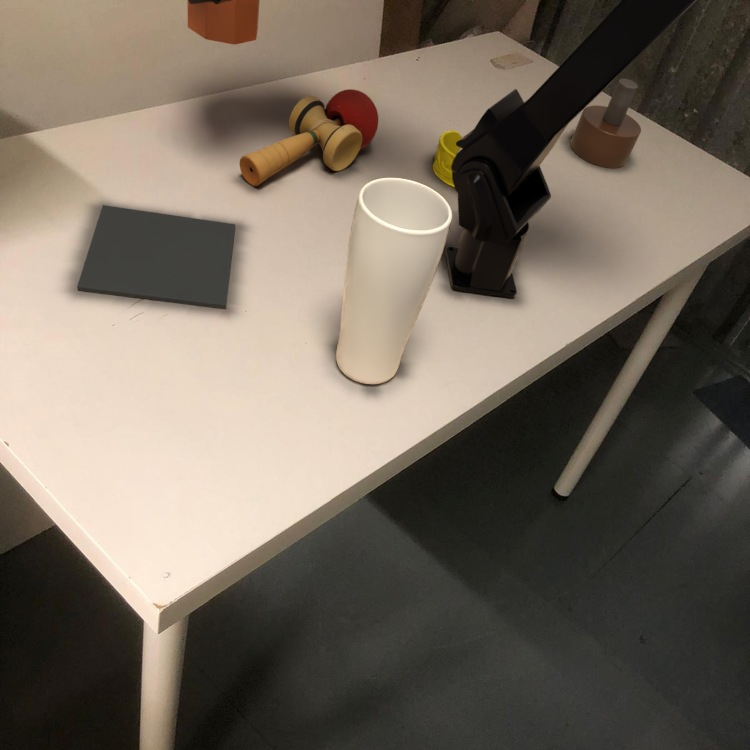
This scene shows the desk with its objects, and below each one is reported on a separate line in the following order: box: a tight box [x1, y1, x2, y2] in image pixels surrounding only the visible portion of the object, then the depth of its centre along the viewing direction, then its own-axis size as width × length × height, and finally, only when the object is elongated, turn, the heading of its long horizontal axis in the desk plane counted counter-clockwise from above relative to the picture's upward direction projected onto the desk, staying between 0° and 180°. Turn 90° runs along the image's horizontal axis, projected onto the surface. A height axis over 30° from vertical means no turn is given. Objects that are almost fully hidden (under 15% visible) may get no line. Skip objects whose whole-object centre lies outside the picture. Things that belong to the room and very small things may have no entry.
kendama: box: [239, 88, 379, 187], centre depth 79 cm, size 8×6×18 cm
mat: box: [76, 204, 236, 310], centre depth 66 cm, size 12×12×1 cm
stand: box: [569, 78, 642, 169], centre depth 92 cm, size 8×8×8 cm
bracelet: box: [432, 130, 463, 188], centre depth 84 cm, size 7×8×3 cm
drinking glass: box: [335, 177, 453, 385], centre depth 57 cm, size 7×7×15 cm
